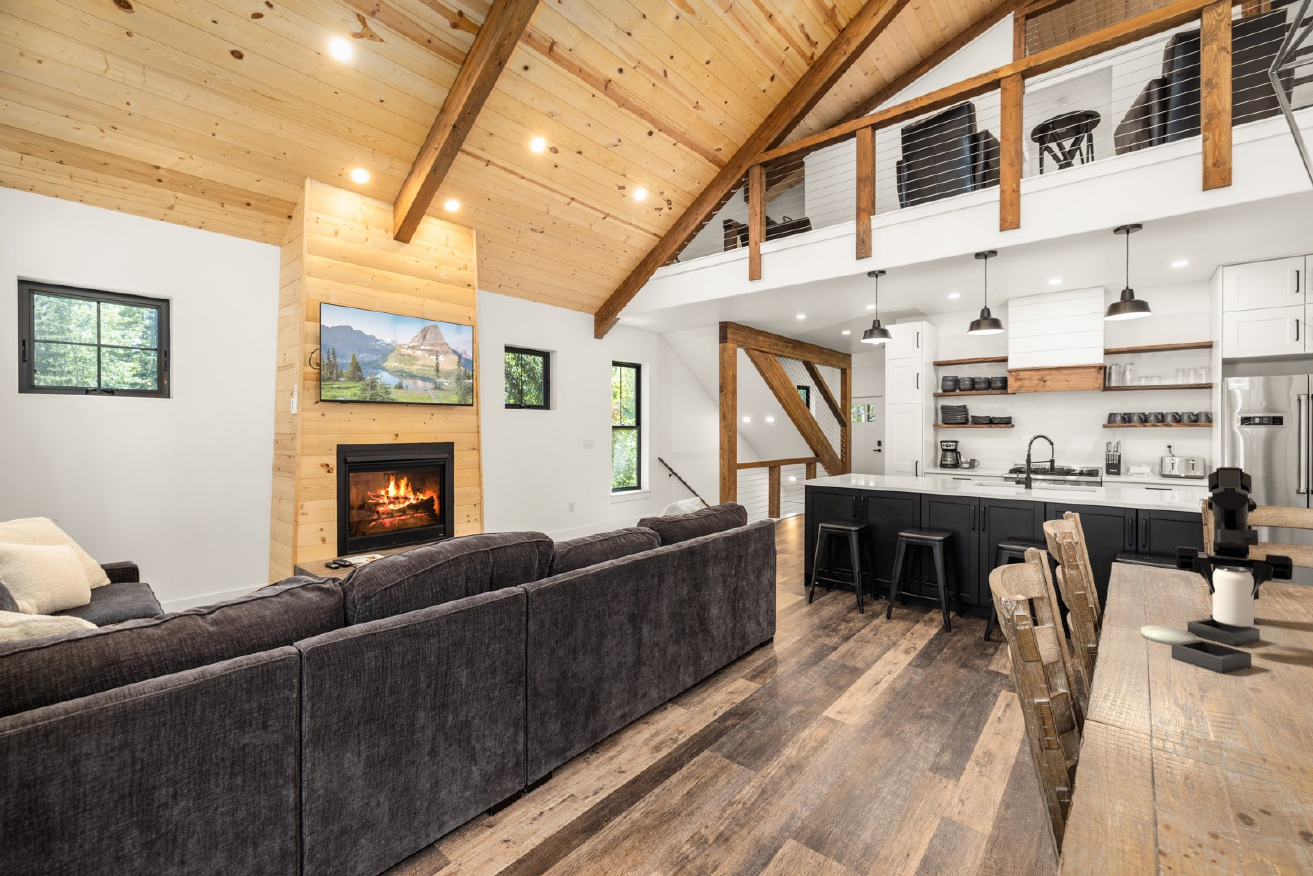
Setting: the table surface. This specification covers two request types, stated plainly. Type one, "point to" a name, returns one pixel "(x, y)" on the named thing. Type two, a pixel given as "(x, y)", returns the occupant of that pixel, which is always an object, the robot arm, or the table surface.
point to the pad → (1166, 634)
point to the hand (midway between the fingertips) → (1231, 594)
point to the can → (1233, 596)
